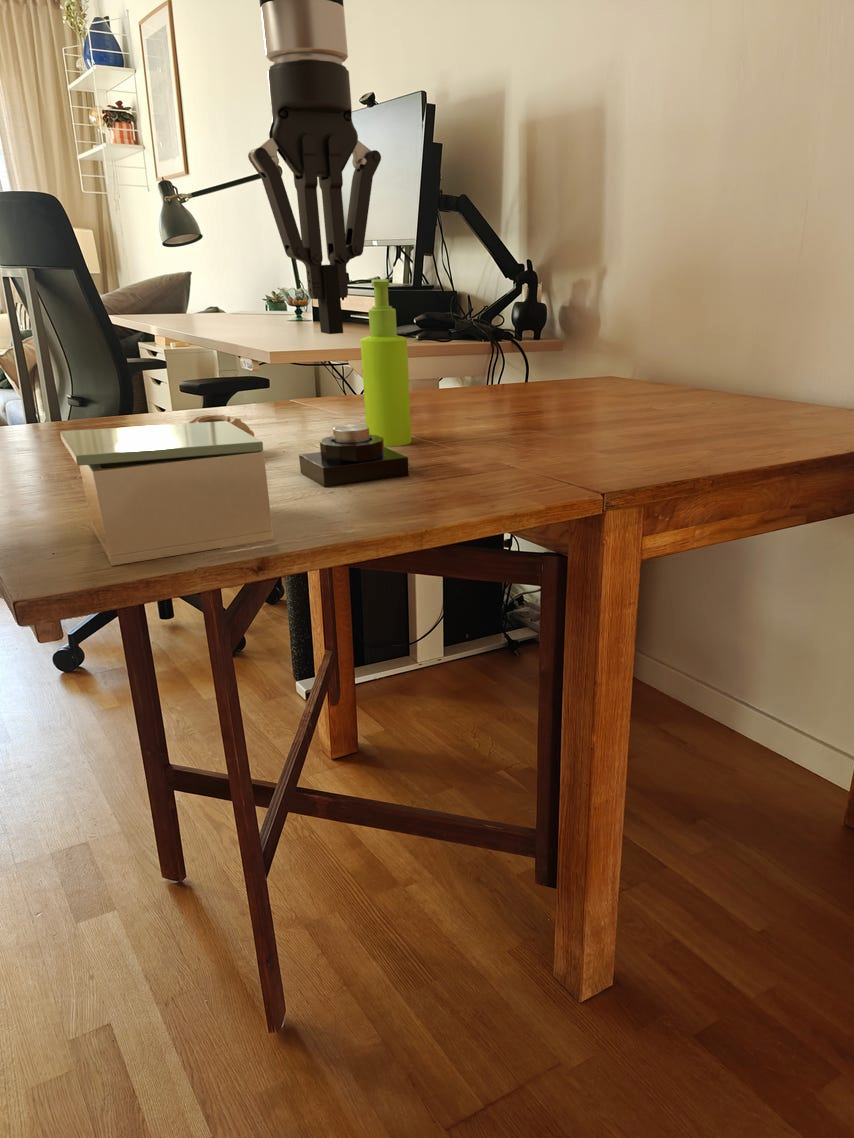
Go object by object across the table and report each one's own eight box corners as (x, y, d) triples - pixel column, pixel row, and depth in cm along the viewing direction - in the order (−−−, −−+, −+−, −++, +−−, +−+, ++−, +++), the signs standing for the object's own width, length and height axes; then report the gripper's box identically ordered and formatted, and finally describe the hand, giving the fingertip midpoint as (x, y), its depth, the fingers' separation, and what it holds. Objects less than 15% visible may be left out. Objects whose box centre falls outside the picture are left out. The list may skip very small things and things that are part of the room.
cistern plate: (324, 488, 93) (321, 451, 91) (300, 473, 99) (297, 438, 97) (408, 476, 97) (407, 440, 96) (380, 462, 104) (378, 429, 102)
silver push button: (341, 448, 94) (340, 432, 93) (328, 442, 97) (327, 426, 97) (375, 444, 96) (374, 428, 95) (361, 438, 99) (360, 422, 98)
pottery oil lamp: (138, 466, 101) (135, 407, 102) (225, 481, 111) (221, 427, 111) (181, 447, 96) (177, 385, 97) (268, 465, 106) (264, 408, 106)
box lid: (77, 466, 67) (75, 455, 66) (61, 440, 76) (60, 431, 75) (263, 451, 73) (262, 441, 73) (228, 429, 82) (227, 420, 82)
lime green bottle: (408, 435, 119) (401, 278, 110) (413, 445, 112) (406, 279, 104) (365, 437, 118) (355, 278, 109) (368, 448, 111) (357, 280, 103)
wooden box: (111, 566, 70) (92, 471, 67) (92, 530, 80) (75, 445, 76) (273, 539, 76) (263, 451, 73) (238, 509, 86) (228, 429, 82)
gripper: (358, 75, 86) (375, 326, 96) (227, 67, 80) (260, 334, 90) (388, 62, 80) (403, 331, 90) (249, 51, 74) (282, 340, 84)
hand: (332, 332), depth 90 cm, fingers closed
